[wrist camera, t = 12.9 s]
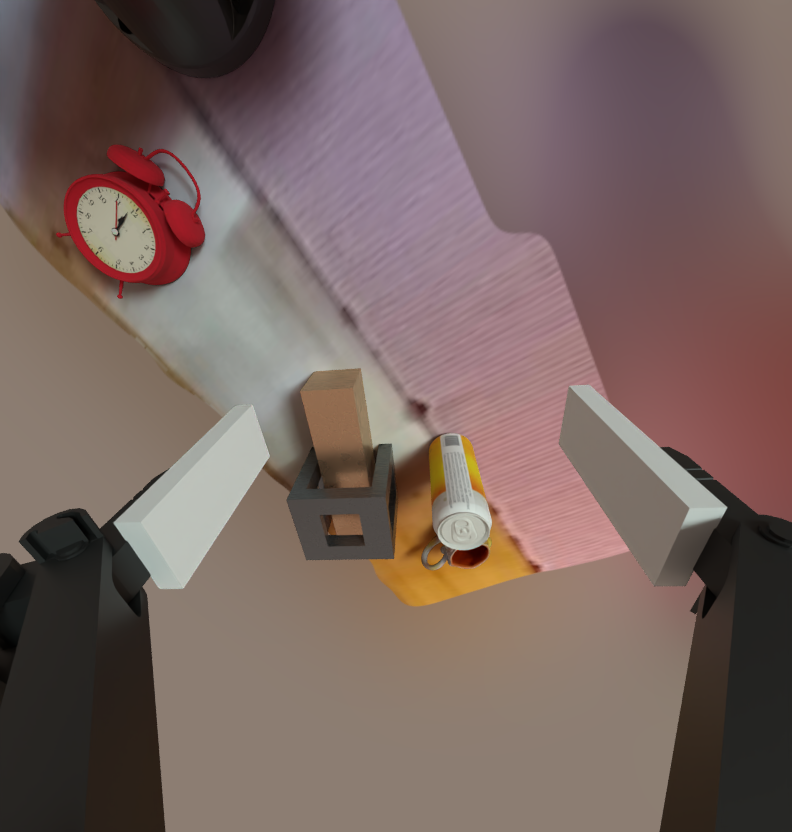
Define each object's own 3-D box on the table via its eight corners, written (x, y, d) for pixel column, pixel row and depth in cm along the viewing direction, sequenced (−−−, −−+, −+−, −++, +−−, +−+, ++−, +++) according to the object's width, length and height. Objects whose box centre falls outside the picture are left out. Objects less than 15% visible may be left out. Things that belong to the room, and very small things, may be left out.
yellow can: (432, 468, 49) (438, 555, 35) (424, 434, 46) (428, 515, 33) (474, 462, 48) (496, 549, 34) (469, 426, 45) (491, 507, 32)
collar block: (312, 447, 48) (286, 500, 38) (391, 443, 47) (385, 497, 37) (326, 501, 53) (306, 559, 43) (398, 499, 52) (394, 558, 42)
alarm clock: (33, 223, 32) (82, 96, 25) (94, 216, 37) (150, 108, 30) (125, 314, 36) (192, 228, 29) (169, 297, 41) (236, 219, 34)
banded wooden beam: (314, 371, 42) (299, 391, 37) (361, 368, 42) (352, 388, 36) (345, 509, 54) (337, 540, 48) (382, 508, 53) (378, 539, 48)
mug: (472, 499, 51) (479, 533, 45) (493, 526, 54) (502, 561, 48) (408, 529, 55) (407, 564, 49) (431, 553, 58) (433, 588, 52)
